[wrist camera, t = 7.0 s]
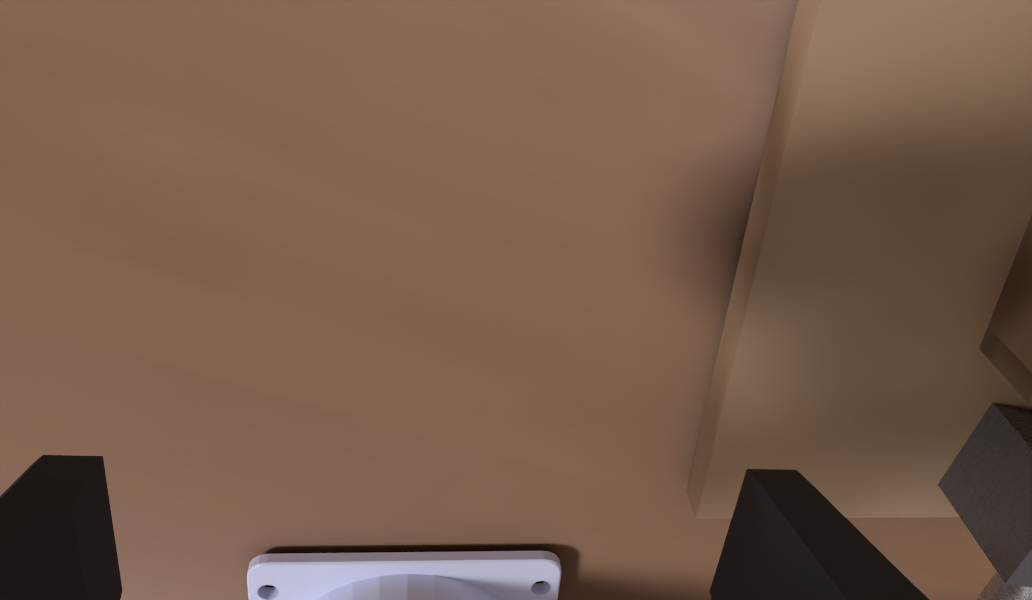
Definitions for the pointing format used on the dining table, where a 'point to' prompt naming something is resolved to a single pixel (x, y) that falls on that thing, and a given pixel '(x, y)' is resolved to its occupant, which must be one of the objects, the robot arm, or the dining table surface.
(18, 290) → the dining table surface
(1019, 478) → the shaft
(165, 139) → the dining table surface
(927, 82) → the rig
